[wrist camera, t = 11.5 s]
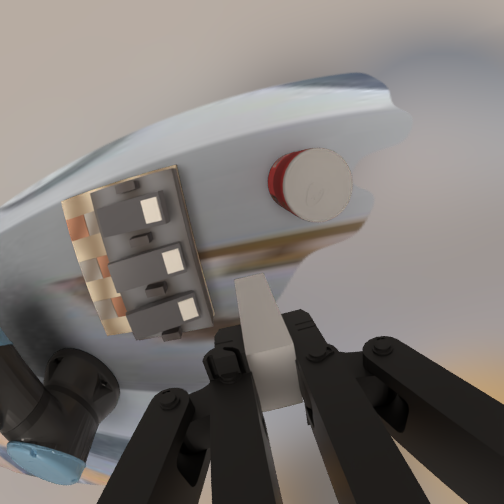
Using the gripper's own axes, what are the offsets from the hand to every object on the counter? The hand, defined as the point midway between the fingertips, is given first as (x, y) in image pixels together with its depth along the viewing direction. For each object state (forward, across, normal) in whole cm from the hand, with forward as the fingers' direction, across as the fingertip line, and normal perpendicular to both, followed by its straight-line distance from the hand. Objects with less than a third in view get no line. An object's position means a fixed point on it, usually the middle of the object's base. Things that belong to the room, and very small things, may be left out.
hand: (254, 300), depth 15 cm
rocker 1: (+19, -11, +4) cm, 23 cm away
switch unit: (+26, -15, -2) cm, 30 cm away
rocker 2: (+19, -11, -9) cm, 24 cm away
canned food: (+27, +9, +3) cm, 28 cm away
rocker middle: (+19, -11, -2) cm, 23 cm away
